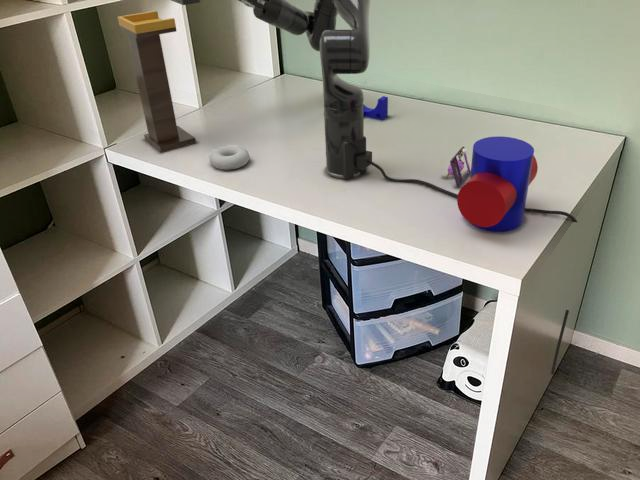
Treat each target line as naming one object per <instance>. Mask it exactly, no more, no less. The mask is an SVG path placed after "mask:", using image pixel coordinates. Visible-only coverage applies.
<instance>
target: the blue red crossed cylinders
mask: <svg viewBox="0 0 640 480" xmlns="http://www.w3.org/2000/svg"><path fill="white" fill-rule="evenodd" d="M534 152H535V148H534V146H533V145H532V144H531V143H529V142H527V141H525V140H523V139H519V138H516V137H512V136H499V135H497V136H488V137H483V138H480V139H478V140H476V141H475V142H474V143H473V145H472V154H471V164H470V165H471V166H470V174H469V175H470V176H469V179H468V181H466V183H464V185H462V187H461V188H459V191H458V193H457V194H458V196H457V198H456V203H457V208H458V211H459V212H460V214H461V215H462V217H463V219H465V221H467V222H469V224H470V225H472V226H473V227H475V228H477V229H480V230H483V231H486V232H491V233H506V232H511V231H515V230H517V229H518V228H520V227H521V226H522V225H523V223H524V217H525V212H526V211H525V208H526V205H527V204H526V203H527V199H528V192H529V186H530V185H531V183H533V181H534V180H535V179H536V177H537V175H538V168H539V167H538V161H537V159H536V157H535V155H534Z"/></svg>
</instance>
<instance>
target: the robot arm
mask: <svg viewBox="0 0 640 480" xmlns="http://www.w3.org/2000/svg"><path fill="white" fill-rule="evenodd" d="M237 1H238V2H239V3H243V4H244V6H246V7H249V8H252V11H253V15H254V17H255V18H256V19H258V20H260V21H262V22H264V23H267V24H268V25H271V26H273V27H275V28H277V29H280V30H283V31H285V32H288V33H289V34H292V35H294V36H301V35H303V34H306V37H307V40H308V43H309V45H310V47H311V48H312V50H314V51H316V52H319V59H320V67H321V76H322V93H323V94H322V96H323V119H324V122H323V123H324V142H325V143H324V144H325V160H326V163H325V164H326V167H325V169H326V173H327V175H329V176H331V177H333V178H336V179H343V180H345V181H348V180H351V179H354V178H357V177H360V176H363V175H365V174H367V169H368V167H370V165H371V166H373V168H376V169H377V170H378V171H379V172H380V173H381V175H382V177H383V178H384V179H385V180H387V181H389V182H394V183H417V184H421V185H424V186H427V187H430V188H432V189H434V190H437V191H438V192H441V193H443V194H447V195H448V196H451V197H454V198H456V199H457V196H458V193H455V192H452V191H450V190H447V189H445V188H443V187H442V188H441V187H439V186H437V185H435V184H433V183H431V182H428V181H425V180H421V179H415V178H407V179H405V178H404V179H396V178H392V177H390V176H388V174H386V172H385V170H384V169H383V168H382V167H381V166H380V165H378V164H377V163H375V162H374V161H373V151H370V150H367V137H366V136H365V129H364V128H365V126H364V124H365V121H364V119H365V118H364V105H365V104H364V91H363V89H362V88H361V87H359V86H358V85H355V84H352V83H349V82H347V81H346V80H344V79H343V78H341V77H340V76H339V75H359V74H363V73H365V72H366V71H367V69H368V67H369V63H370V57H371V56H370V54H371V49H370V48H371V45H370V43H371V42H370V7H371V0H315V1H314V5H313V11H308V10H302V9H301V8H299V7H298V6H295V5H294V4H292V3H290V2H289V1H288V0H237ZM338 15H339V16H340V17H341V18H342V20H344V22H345V23H347V25H348V26H349V27H350V28H351V29H336V28H337V19H338ZM524 212H528V213H539V214H546V215H561V216H564V217H567V218H569V219H570V220H571V221H572V222H573V223H578V220H577V218H575V216H573V215H572V214H570V213H569V212H566V211H562V210H547V209H540V208H531V207H529V208H527V207H525V211H524ZM569 312H570V310H568V309H565V312H564V316H563V320H562V324H561V328H560V332H559V336H558V340H557V344H556V349H555V353H554V358H553V360H552V361H553V362H552V367H551V371H550V374H551V375H555V371H556V366H557V362H558V358H559V357H558V356H559V352H560V349H561V345H562V340H563V336H564V332H565V329H566V324H567V321H568V318H569V317H568V316H569Z"/></svg>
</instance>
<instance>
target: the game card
mask: <svg viewBox="0 0 640 480" xmlns="http://www.w3.org/2000/svg"><path fill="white" fill-rule="evenodd" d="M467 151H468V150H467V148H465V146H461V148H459V150H458V151H457V152H456V153H455V154H454V155H453V157H452V158H451V159H450V161H449V165H448V166H447V169H446V170H447V174H446V175H445V176H444V178H445V179H446V178H448V177H449V176H451V177H452V176H453V177H454V181H455V186H456V188H460V187H461V185H462V184H463V183H464V182H465V180H466V179H467V178H468V176H469V175H470V174H471V166H470V163H469V160H468V156H467V153H468V152H467ZM462 157H464V161H463V160H462ZM465 165H466V169H467V170H466V174H465V175H464V176H462V173H461V172H462V171H463V169H465Z"/></svg>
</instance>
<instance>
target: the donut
mask: <svg viewBox="0 0 640 480" xmlns="http://www.w3.org/2000/svg"><path fill="white" fill-rule="evenodd" d="M208 157H209V163H210V164H211V165H212V166H213V167H214V168H216V169H219V170H225V171H227V170H228V171H229V170H235V169H239V168H240V169H241V167H244V166H245V165H246V164H247V163H249V160H250V157H251V156H250V153H249V150H248V149H246V148H245V147H243V146H240V145H235V144H229V145H227V144H226V145H223V146H219V147H216V148H214V149H213V150H211V153H210V154H209V156H208Z"/></svg>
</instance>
